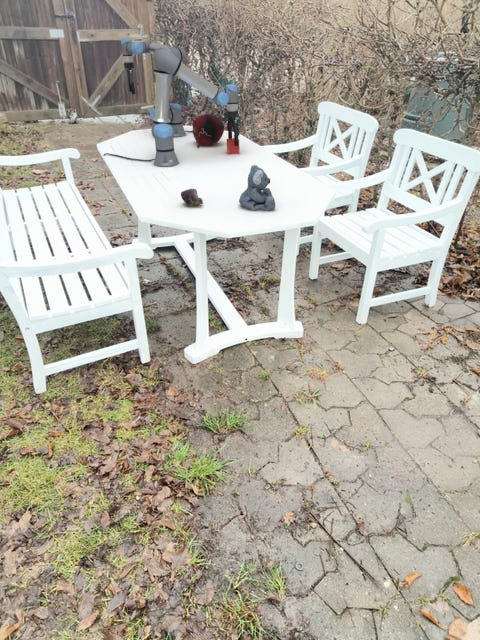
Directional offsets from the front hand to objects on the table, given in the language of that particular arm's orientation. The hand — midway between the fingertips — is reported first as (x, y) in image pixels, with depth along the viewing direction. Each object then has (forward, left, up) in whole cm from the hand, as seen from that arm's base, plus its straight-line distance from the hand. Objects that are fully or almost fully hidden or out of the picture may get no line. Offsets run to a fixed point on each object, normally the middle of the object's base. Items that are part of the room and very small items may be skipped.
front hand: (233, 143), depth 312 cm
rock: (+54, -90, -6) cm, 105 cm away
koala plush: (+81, -68, -6) cm, 106 cm away
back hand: (-107, -3, +23) cm, 110 cm away
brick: (0, 0, -6) cm, 6 cm away
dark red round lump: (-32, +6, -6) cm, 33 cm away
